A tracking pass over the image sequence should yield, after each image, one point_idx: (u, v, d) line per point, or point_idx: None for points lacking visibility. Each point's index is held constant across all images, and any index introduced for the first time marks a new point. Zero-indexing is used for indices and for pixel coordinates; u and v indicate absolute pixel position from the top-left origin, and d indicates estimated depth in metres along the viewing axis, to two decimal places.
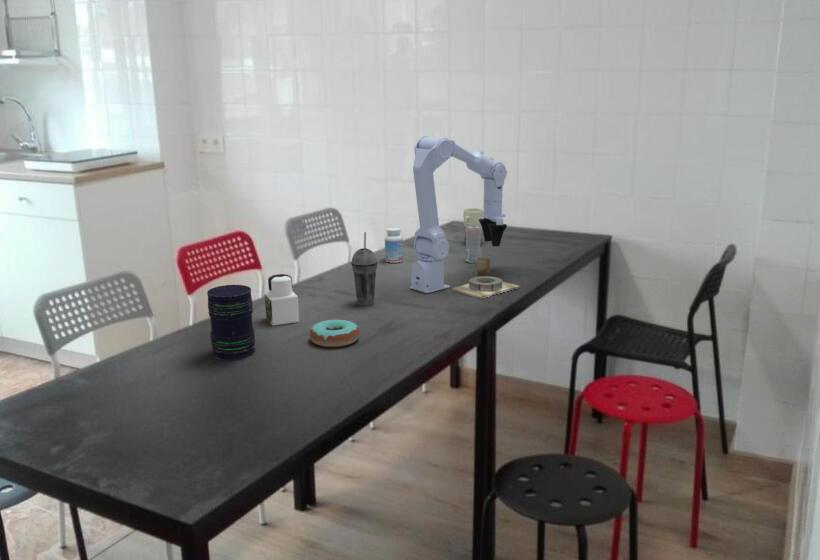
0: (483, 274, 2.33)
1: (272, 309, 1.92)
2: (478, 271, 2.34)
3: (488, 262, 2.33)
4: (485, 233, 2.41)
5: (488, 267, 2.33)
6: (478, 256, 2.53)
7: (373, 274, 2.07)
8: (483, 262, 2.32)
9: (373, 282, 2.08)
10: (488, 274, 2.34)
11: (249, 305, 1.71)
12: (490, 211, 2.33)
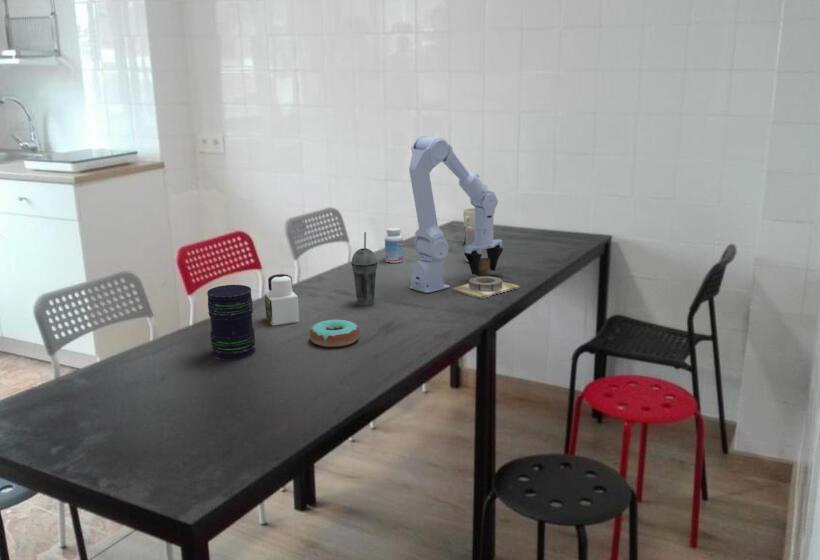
0: (483, 274, 2.33)
1: (272, 309, 1.92)
2: None
3: (488, 262, 2.33)
4: None
5: (488, 267, 2.33)
6: None
7: (373, 274, 2.07)
8: (483, 262, 2.32)
9: (373, 282, 2.08)
10: (488, 274, 2.34)
11: (249, 305, 1.71)
12: None
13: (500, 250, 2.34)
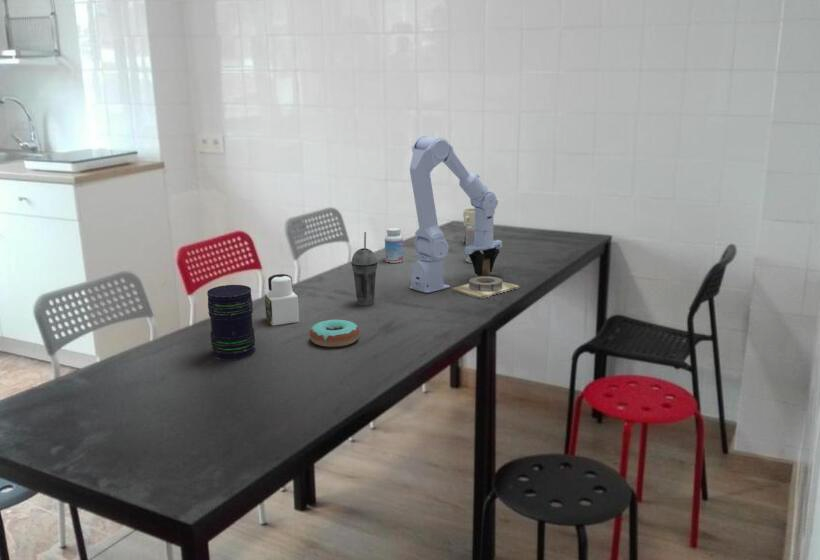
0: (483, 274, 2.33)
1: (272, 309, 1.92)
2: None
3: (488, 262, 2.33)
4: None
5: (488, 267, 2.33)
6: None
7: (373, 274, 2.07)
8: (483, 262, 2.32)
9: (373, 282, 2.08)
10: (488, 274, 2.34)
11: (249, 305, 1.71)
12: (474, 239, 2.32)
13: (497, 252, 2.33)
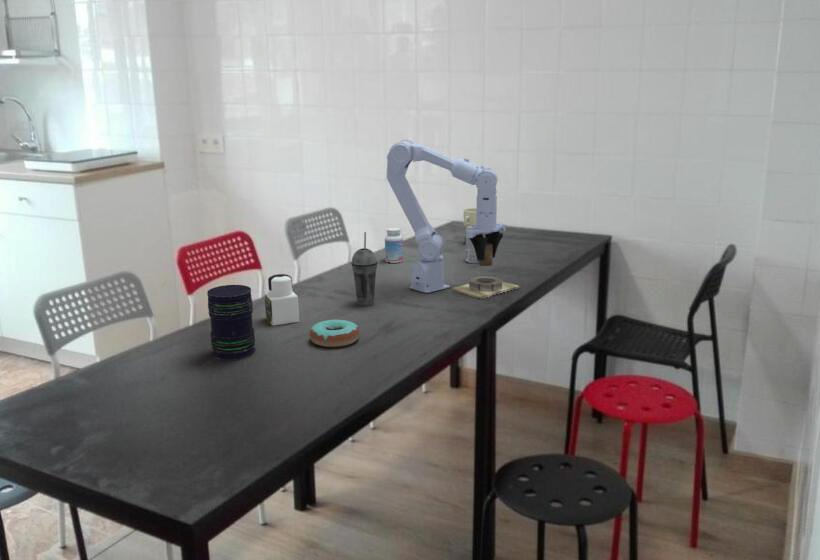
0: (484, 260, 2.19)
1: (272, 309, 1.92)
2: None
3: (490, 247, 2.18)
4: None
5: (490, 253, 2.19)
6: None
7: (373, 274, 2.07)
8: None
9: (373, 282, 2.08)
10: (490, 260, 2.19)
11: (249, 305, 1.71)
12: (476, 222, 2.17)
13: (500, 236, 2.19)
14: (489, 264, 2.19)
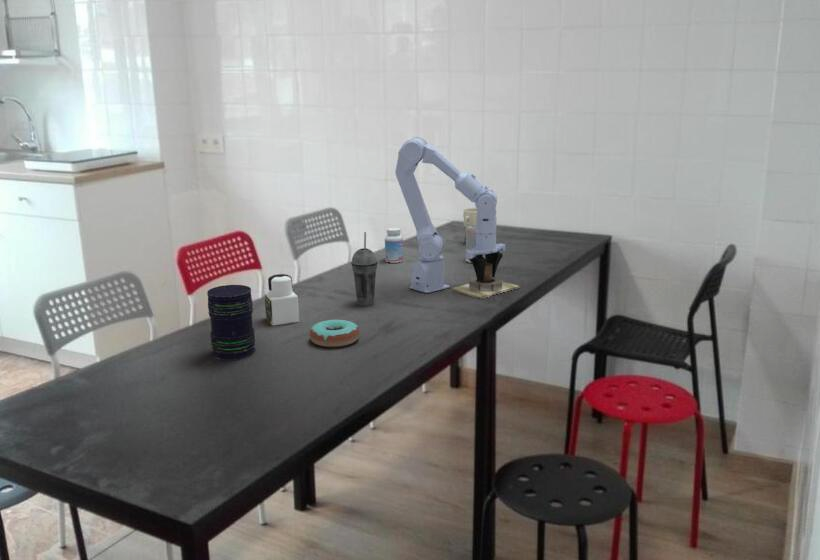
0: (484, 280, 2.20)
1: (272, 309, 1.92)
2: None
3: (490, 268, 2.20)
4: None
5: (490, 273, 2.20)
6: None
7: (373, 274, 2.07)
8: None
9: (373, 282, 2.08)
10: (490, 280, 2.21)
11: (249, 305, 1.71)
12: (476, 242, 2.19)
13: (500, 256, 2.20)
14: None
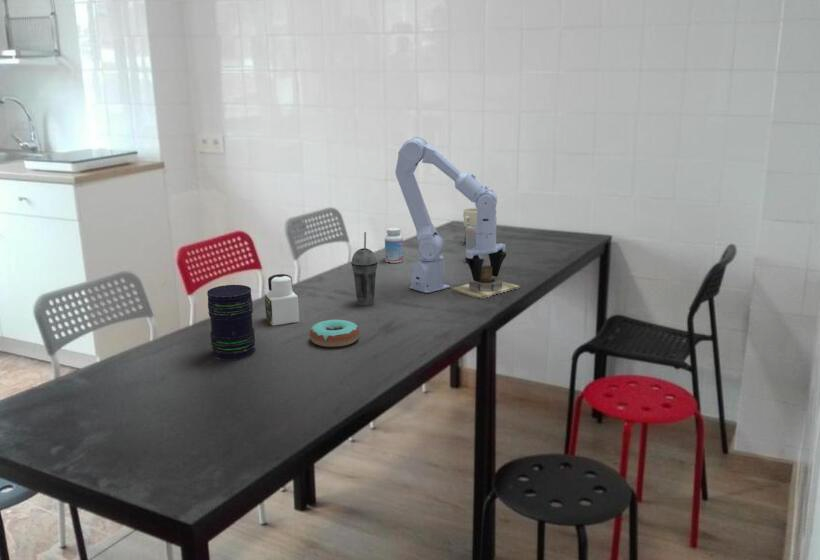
0: None
1: (272, 309, 1.92)
2: None
3: (490, 270, 2.20)
4: None
5: (490, 275, 2.20)
6: None
7: (373, 274, 2.07)
8: (484, 270, 2.19)
9: (373, 282, 2.08)
10: None
11: (249, 305, 1.71)
12: (476, 242, 2.19)
13: (503, 255, 2.21)
14: None
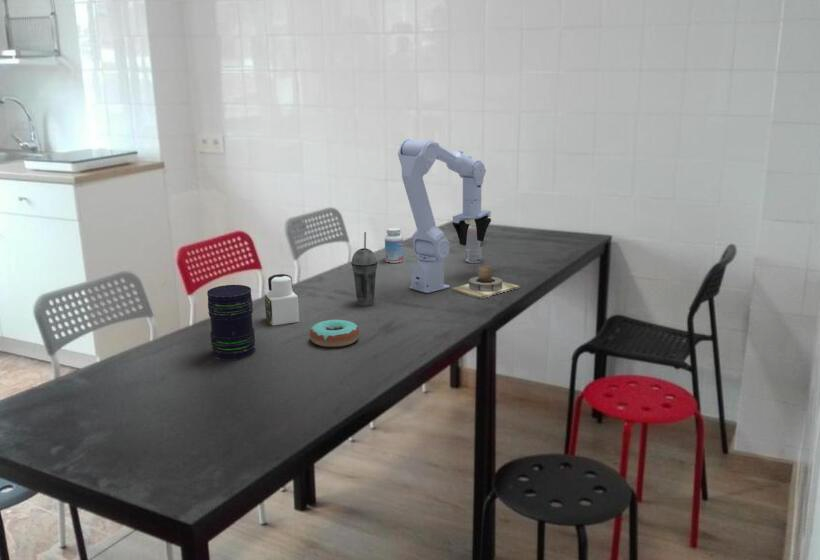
0: (484, 282, 2.20)
1: (272, 309, 1.92)
2: (479, 279, 2.21)
3: (490, 270, 2.20)
4: (477, 232, 2.39)
5: (490, 275, 2.20)
6: (478, 256, 2.53)
7: (373, 274, 2.07)
8: (484, 270, 2.20)
9: (373, 282, 2.08)
10: None
11: (249, 305, 1.71)
12: None
13: (488, 220, 2.36)
14: None
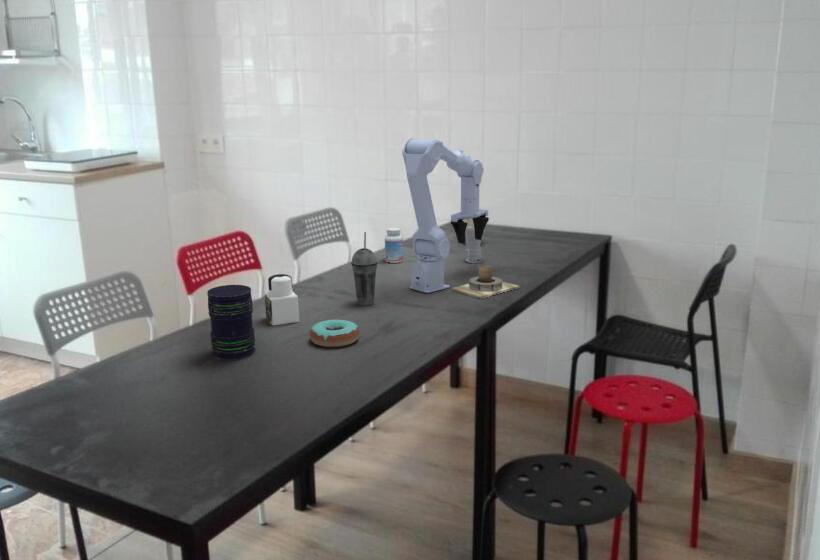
0: None
1: (272, 309, 1.92)
2: (479, 279, 2.21)
3: (490, 270, 2.20)
4: (475, 231, 2.41)
5: (490, 275, 2.20)
6: (478, 256, 2.53)
7: (373, 274, 2.07)
8: (484, 270, 2.19)
9: (373, 282, 2.08)
10: None
11: (249, 305, 1.71)
12: None
13: (486, 219, 2.38)
14: None
